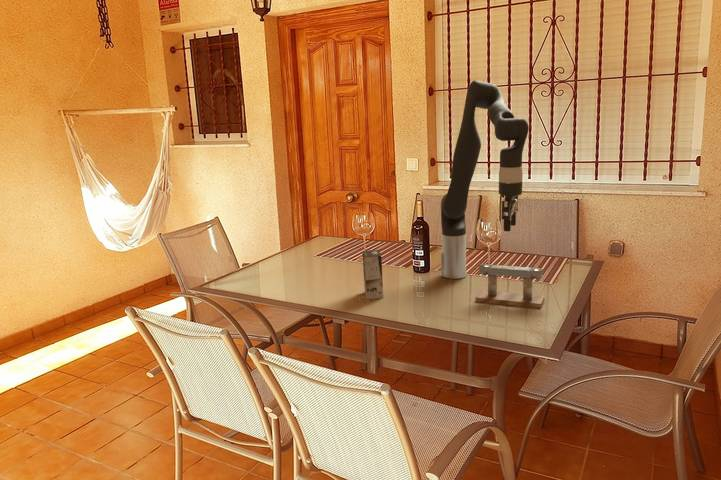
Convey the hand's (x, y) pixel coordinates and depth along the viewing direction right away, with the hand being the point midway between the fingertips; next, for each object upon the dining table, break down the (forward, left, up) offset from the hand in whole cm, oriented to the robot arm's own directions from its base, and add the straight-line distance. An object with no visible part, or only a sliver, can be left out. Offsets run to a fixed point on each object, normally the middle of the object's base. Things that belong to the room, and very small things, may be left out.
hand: (509, 228), depth 196 cm
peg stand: (0, 0, -26) cm, 26 cm away
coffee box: (-48, -8, -26) cm, 55 cm away
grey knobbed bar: (0, 0, -16) cm, 16 cm away
